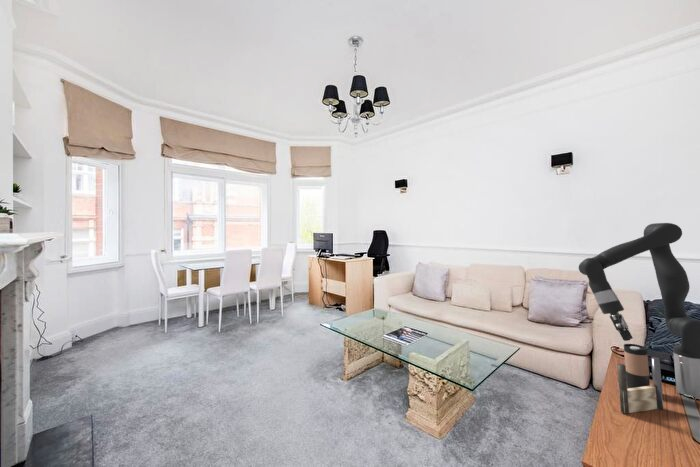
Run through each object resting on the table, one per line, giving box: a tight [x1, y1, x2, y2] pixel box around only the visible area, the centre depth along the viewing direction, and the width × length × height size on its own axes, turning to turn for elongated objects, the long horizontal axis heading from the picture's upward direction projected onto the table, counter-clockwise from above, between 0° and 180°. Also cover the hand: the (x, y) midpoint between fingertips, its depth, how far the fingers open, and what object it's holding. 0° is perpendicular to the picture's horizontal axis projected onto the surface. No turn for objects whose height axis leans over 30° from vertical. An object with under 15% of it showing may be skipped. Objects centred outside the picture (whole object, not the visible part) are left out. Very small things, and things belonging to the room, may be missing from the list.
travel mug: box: [623, 343, 651, 389], centre depth 130 cm, size 8×8×20 cm
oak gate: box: [616, 363, 658, 415], centre depth 116 cm, size 15×2×18 cm, turn 98°
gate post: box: [650, 356, 664, 411], centre depth 118 cm, size 2×2×20 cm
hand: (628, 339), depth 123 cm, fingers open, 8 cm apart
